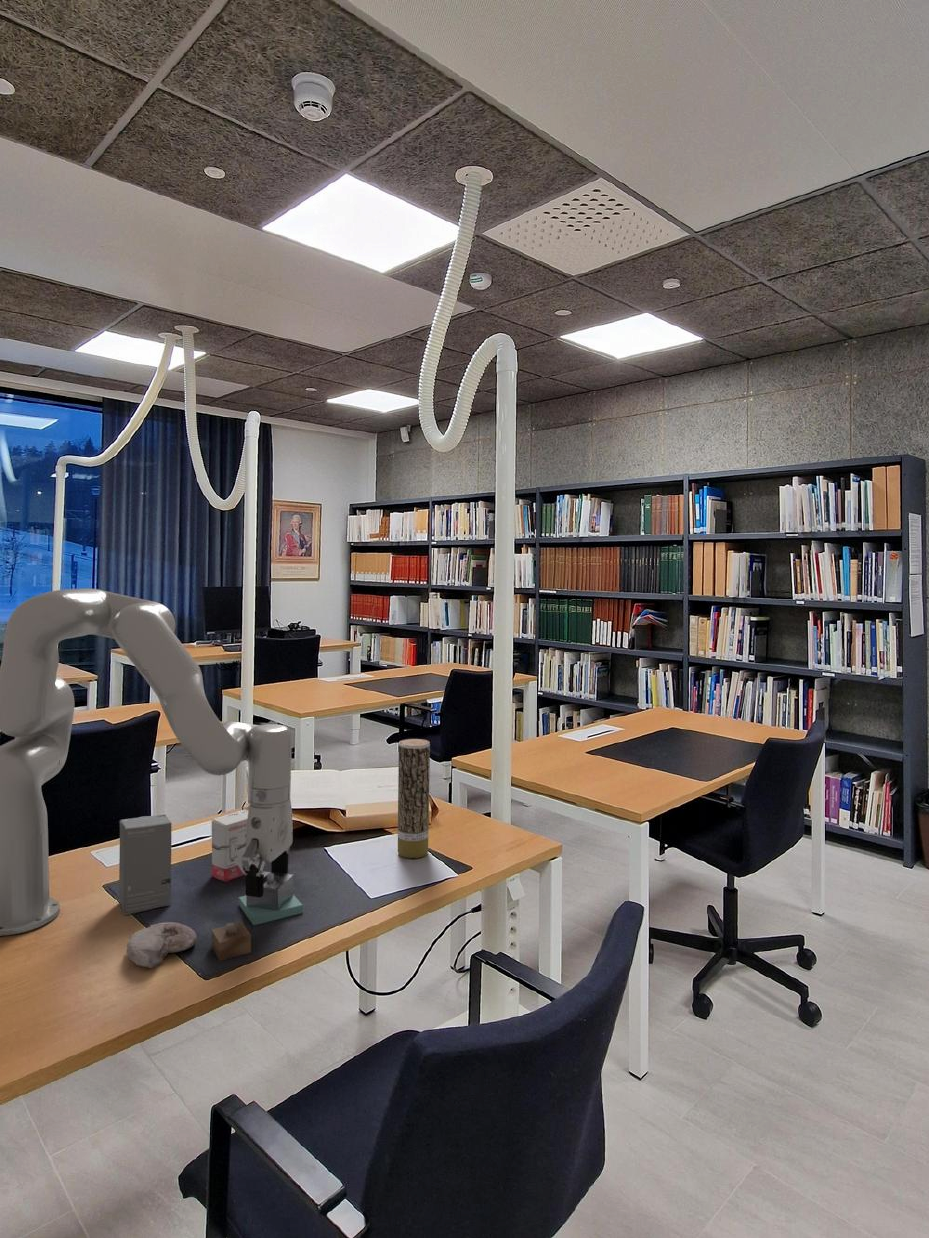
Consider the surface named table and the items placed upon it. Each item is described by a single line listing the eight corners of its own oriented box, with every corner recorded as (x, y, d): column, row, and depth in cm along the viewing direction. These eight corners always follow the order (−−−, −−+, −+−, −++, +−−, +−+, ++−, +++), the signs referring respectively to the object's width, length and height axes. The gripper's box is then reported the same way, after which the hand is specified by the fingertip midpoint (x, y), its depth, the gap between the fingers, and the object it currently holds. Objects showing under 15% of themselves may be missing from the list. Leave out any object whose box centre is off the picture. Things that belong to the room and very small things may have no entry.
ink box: (224, 883, 143) (224, 825, 142) (210, 876, 146) (209, 819, 145) (260, 868, 150) (260, 813, 149) (246, 862, 153) (246, 808, 152)
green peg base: (253, 925, 127) (253, 889, 126) (238, 904, 134) (238, 870, 134) (302, 912, 132) (302, 878, 131) (285, 893, 139) (285, 860, 139)
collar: (278, 910, 129) (278, 888, 129) (246, 906, 130) (246, 885, 130) (293, 895, 135) (293, 874, 135) (262, 891, 136) (262, 871, 136)
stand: (219, 960, 115) (219, 935, 115) (211, 946, 119) (211, 922, 119) (250, 952, 118) (250, 927, 118) (242, 938, 122) (241, 914, 122)
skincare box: (124, 916, 129) (122, 830, 128) (118, 901, 135) (116, 818, 134) (173, 905, 133) (173, 822, 132) (166, 890, 139) (165, 810, 138)
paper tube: (434, 852, 160) (436, 741, 159) (416, 862, 155) (417, 748, 153) (409, 845, 164) (411, 737, 162) (391, 855, 158) (392, 743, 157)
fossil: (161, 908, 124) (209, 921, 121) (159, 931, 125) (207, 946, 121) (105, 937, 113) (157, 953, 110) (104, 963, 113) (155, 980, 110)
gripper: (265, 810, 122) (263, 908, 123) (308, 781, 139) (306, 868, 140) (225, 805, 124) (223, 902, 125) (272, 778, 140) (270, 863, 142)
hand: (267, 884), depth 132 cm, fingers open, 9 cm apart
